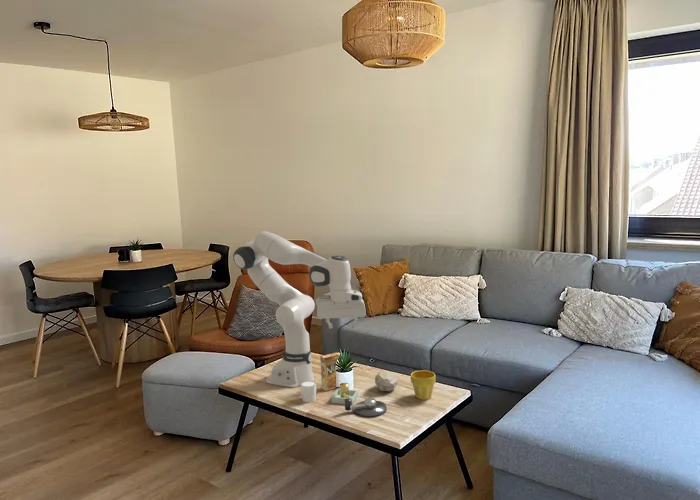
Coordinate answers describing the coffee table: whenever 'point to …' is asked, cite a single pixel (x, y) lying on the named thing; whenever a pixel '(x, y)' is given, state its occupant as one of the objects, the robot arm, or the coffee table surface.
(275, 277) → the robot arm
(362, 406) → the crank
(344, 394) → the pin
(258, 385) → the coffee table surface
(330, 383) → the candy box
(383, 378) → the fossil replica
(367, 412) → the base
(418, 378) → the plant pot
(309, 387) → the white cylinder
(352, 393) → the tray
